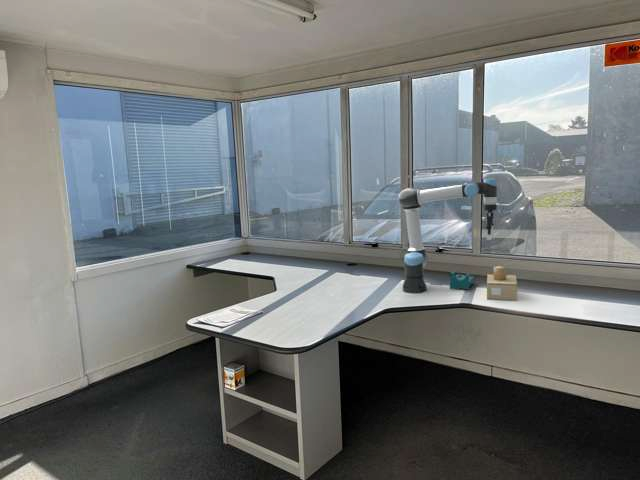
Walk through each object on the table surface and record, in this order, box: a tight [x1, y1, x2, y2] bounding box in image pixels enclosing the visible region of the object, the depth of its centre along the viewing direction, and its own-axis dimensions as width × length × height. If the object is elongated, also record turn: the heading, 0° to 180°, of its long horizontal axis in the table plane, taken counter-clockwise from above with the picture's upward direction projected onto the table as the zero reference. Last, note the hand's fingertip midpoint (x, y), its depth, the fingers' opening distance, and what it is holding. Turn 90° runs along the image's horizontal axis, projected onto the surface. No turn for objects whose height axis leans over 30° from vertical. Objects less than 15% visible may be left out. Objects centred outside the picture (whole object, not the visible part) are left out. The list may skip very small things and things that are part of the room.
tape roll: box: [493, 265, 507, 281], centre depth 267 cm, size 7×7×7 cm
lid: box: [486, 274, 518, 286], centre depth 267 cm, size 16×20×1 cm
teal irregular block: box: [449, 271, 474, 291], centre depth 292 cm, size 18×11×10 cm, turn 150°
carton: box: [486, 283, 518, 302], centre depth 268 cm, size 16×20×9 cm
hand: (489, 237), depth 280 cm, fingers open, 13 cm apart
